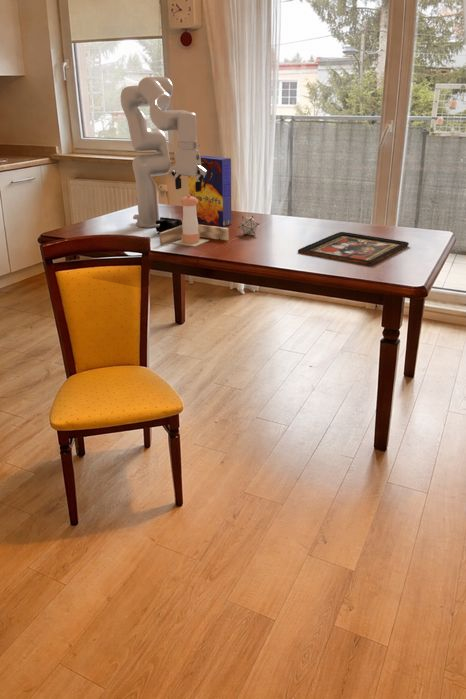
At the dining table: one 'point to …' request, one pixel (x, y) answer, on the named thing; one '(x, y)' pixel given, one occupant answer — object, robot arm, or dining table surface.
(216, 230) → the corner walls
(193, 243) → the pad
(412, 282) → the dining table surface
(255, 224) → the grey spiky star ornament
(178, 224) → the end cap
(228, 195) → the cereal box
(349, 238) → the framed icon painting
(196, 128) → the robot arm
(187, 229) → the pepper shaker
